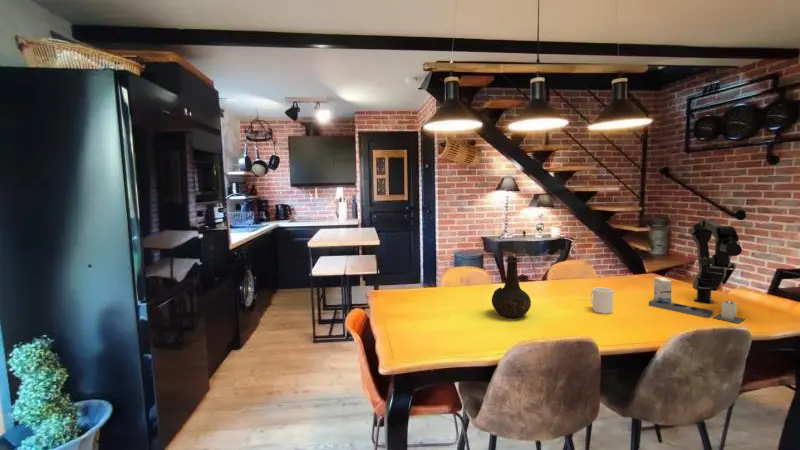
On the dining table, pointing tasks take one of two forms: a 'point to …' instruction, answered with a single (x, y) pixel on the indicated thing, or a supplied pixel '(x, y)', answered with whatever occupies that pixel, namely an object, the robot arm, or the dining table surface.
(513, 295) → the glass bottle
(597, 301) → the mug
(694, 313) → the grey metal frame
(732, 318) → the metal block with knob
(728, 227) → the robot arm
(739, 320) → the mat
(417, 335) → the dining table surface
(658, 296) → the ink box
